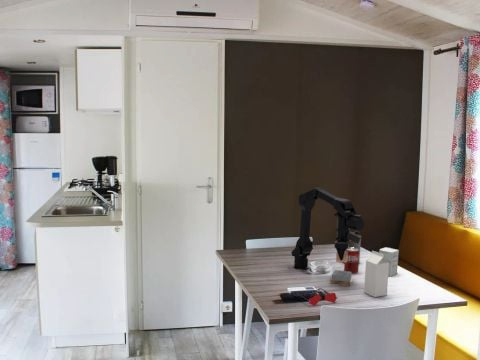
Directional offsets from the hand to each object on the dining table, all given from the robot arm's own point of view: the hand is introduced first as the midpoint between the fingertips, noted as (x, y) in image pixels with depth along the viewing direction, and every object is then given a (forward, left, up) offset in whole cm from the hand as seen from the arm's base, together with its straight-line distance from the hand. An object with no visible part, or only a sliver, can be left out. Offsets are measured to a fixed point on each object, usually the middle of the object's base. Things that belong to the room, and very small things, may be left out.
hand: (341, 258), depth 238 cm
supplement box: (+22, +21, -12) cm, 33 cm away
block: (0, 0, -1) cm, 1 cm away
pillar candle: (+3, +35, -12) cm, 37 cm away
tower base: (0, 0, -12) cm, 12 cm away
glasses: (-10, -26, -12) cm, 30 cm away
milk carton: (+16, -12, -12) cm, 23 cm away
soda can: (+4, +18, -12) cm, 22 cm away
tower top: (0, 0, -10) cm, 10 cm away
